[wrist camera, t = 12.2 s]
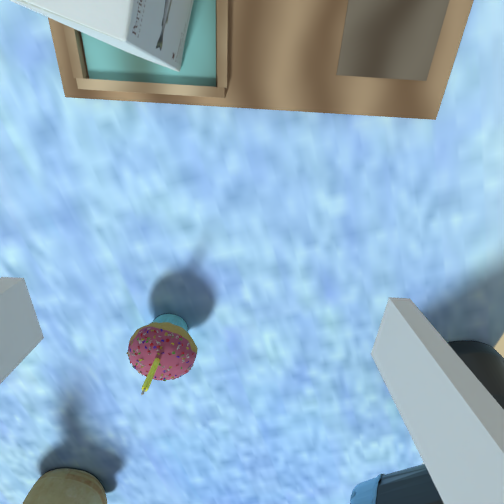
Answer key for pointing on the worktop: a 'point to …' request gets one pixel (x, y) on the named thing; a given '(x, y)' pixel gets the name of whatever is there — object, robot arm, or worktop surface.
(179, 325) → the cupcake
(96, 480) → the ceramic vessel
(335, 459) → the worktop surface
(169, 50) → the supplement box
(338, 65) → the board
